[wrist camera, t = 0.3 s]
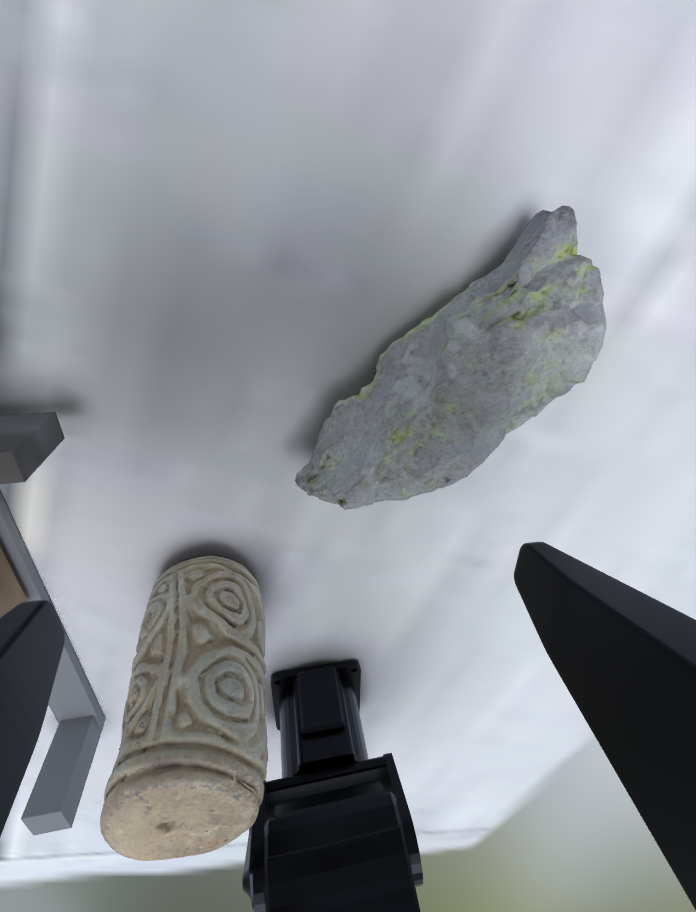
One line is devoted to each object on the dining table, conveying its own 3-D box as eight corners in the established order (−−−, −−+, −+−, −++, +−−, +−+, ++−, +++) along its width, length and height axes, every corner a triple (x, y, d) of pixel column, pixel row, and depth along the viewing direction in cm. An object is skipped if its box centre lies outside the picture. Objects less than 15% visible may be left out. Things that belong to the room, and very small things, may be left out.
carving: (187, 640, 28) (142, 891, 17) (131, 557, 24) (31, 815, 13) (281, 611, 28) (293, 841, 18) (240, 525, 24) (225, 753, 14)
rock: (366, 511, 25) (398, 597, 20) (278, 437, 22) (284, 513, 16) (587, 326, 22) (703, 362, 16) (523, 207, 19) (639, 199, 13)
